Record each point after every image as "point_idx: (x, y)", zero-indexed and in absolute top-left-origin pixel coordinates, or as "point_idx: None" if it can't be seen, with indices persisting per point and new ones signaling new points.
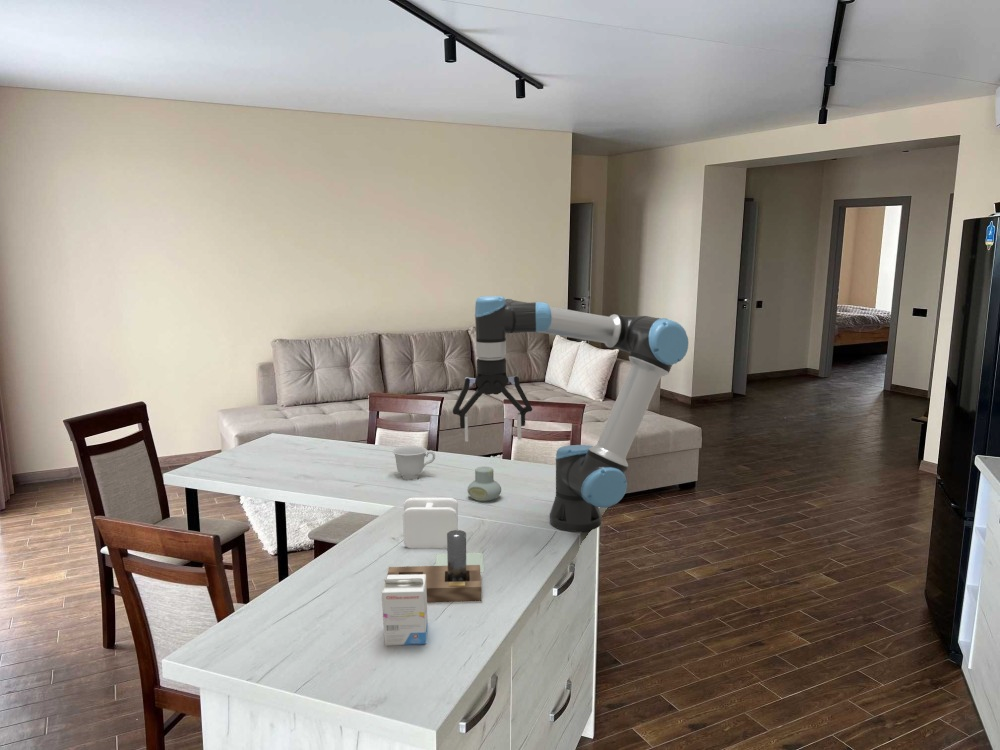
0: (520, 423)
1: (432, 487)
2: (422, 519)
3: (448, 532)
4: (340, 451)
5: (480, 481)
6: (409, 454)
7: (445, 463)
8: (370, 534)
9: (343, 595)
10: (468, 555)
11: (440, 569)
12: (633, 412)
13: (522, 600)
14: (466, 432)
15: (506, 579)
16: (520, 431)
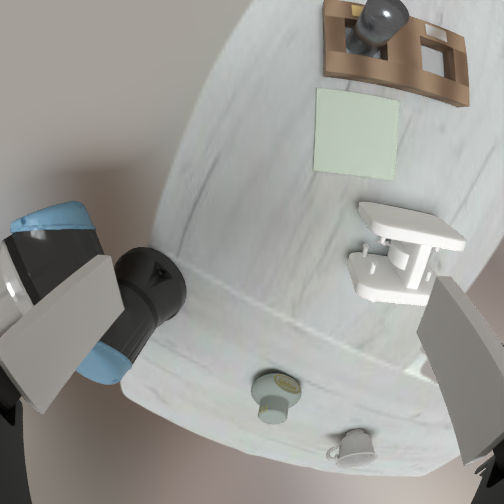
0: (33, 309)
1: (338, 414)
2: (433, 226)
3: (407, 20)
4: (394, 465)
5: (281, 399)
6: (352, 458)
7: (305, 453)
8: (461, 283)
9: (498, 86)
10: (339, 163)
11: (396, 69)
12: None
13: (257, 6)
14: (472, 312)
15: (277, 67)
16: (70, 279)
